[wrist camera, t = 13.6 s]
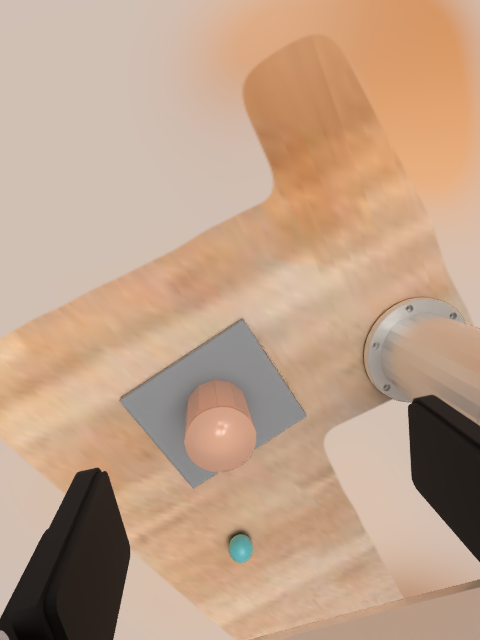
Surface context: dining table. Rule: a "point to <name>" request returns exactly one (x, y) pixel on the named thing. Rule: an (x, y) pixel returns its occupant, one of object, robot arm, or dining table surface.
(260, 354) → the slate mat
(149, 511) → the dining table surface
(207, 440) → the peach domed cylinder
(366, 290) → the dining table surface
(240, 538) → the teal ball
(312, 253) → the dining table surface
